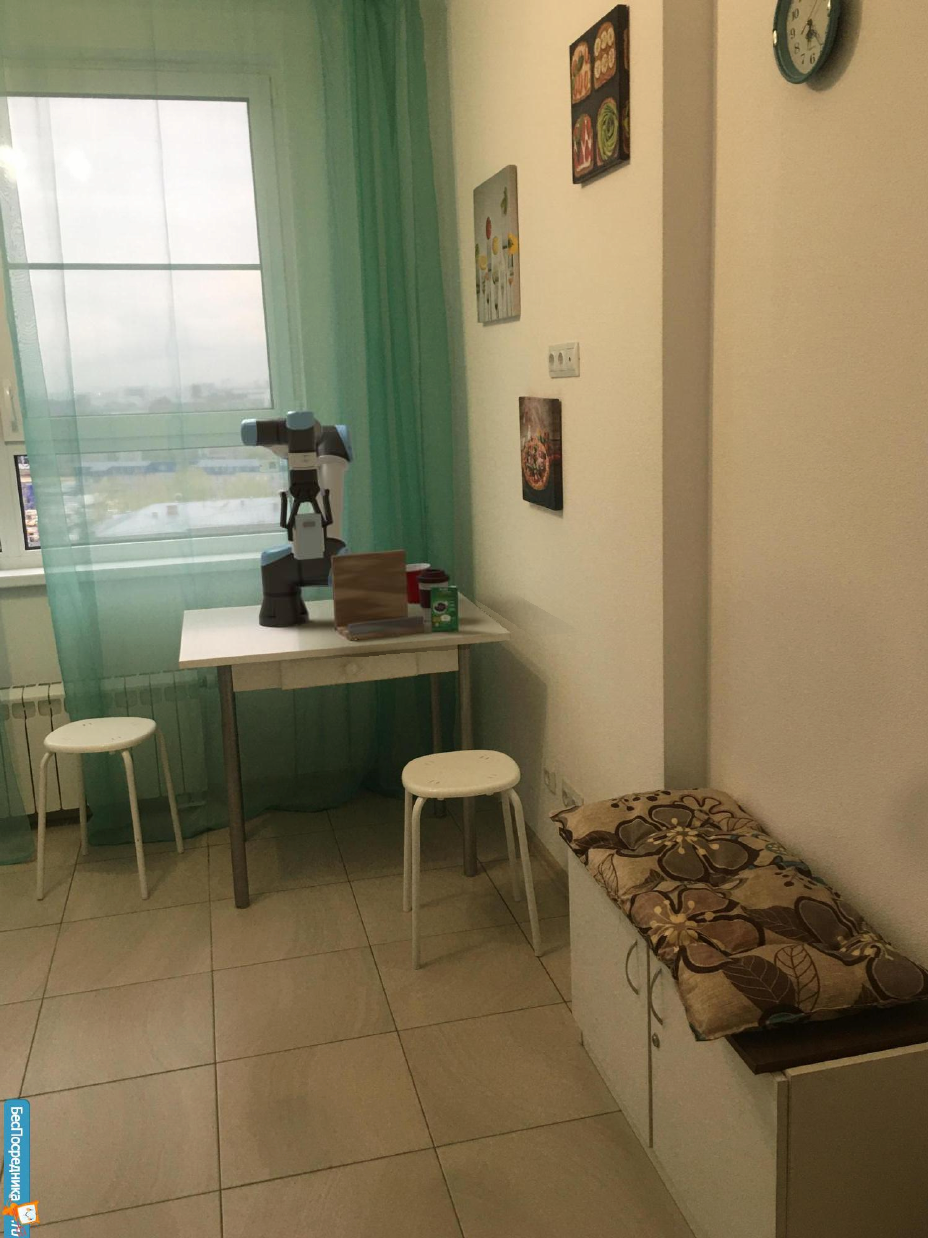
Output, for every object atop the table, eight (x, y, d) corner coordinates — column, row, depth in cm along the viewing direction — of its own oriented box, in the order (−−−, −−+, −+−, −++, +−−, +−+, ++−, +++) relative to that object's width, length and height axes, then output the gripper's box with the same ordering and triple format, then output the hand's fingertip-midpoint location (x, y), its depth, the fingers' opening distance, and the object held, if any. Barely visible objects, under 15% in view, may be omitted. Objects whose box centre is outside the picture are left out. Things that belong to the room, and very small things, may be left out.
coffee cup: (447, 623, 324) (445, 573, 321) (414, 622, 326) (412, 573, 323) (454, 616, 333) (452, 567, 330) (422, 616, 335) (420, 567, 332)
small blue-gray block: (294, 557, 303) (291, 514, 301) (318, 555, 306) (316, 512, 304) (299, 560, 298) (296, 516, 296) (324, 557, 301) (321, 514, 298)
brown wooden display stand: (335, 630, 318) (330, 555, 314) (405, 622, 327) (402, 549, 322) (350, 640, 305) (346, 562, 300) (423, 631, 313) (421, 555, 309)
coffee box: (459, 629, 315) (458, 584, 313) (459, 631, 312) (457, 586, 310) (431, 629, 316) (430, 585, 313) (431, 632, 313) (429, 587, 310)
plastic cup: (395, 600, 362) (393, 564, 360) (426, 597, 365) (425, 562, 363) (403, 606, 352) (401, 569, 349) (435, 603, 355) (434, 566, 353)
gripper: (270, 471, 290) (275, 556, 295) (342, 466, 298) (346, 550, 303) (264, 469, 297) (269, 553, 302) (334, 465, 305) (339, 547, 309)
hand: (308, 551), depth 302 cm, fingers closed on small blue-gray block, 7 cm apart
